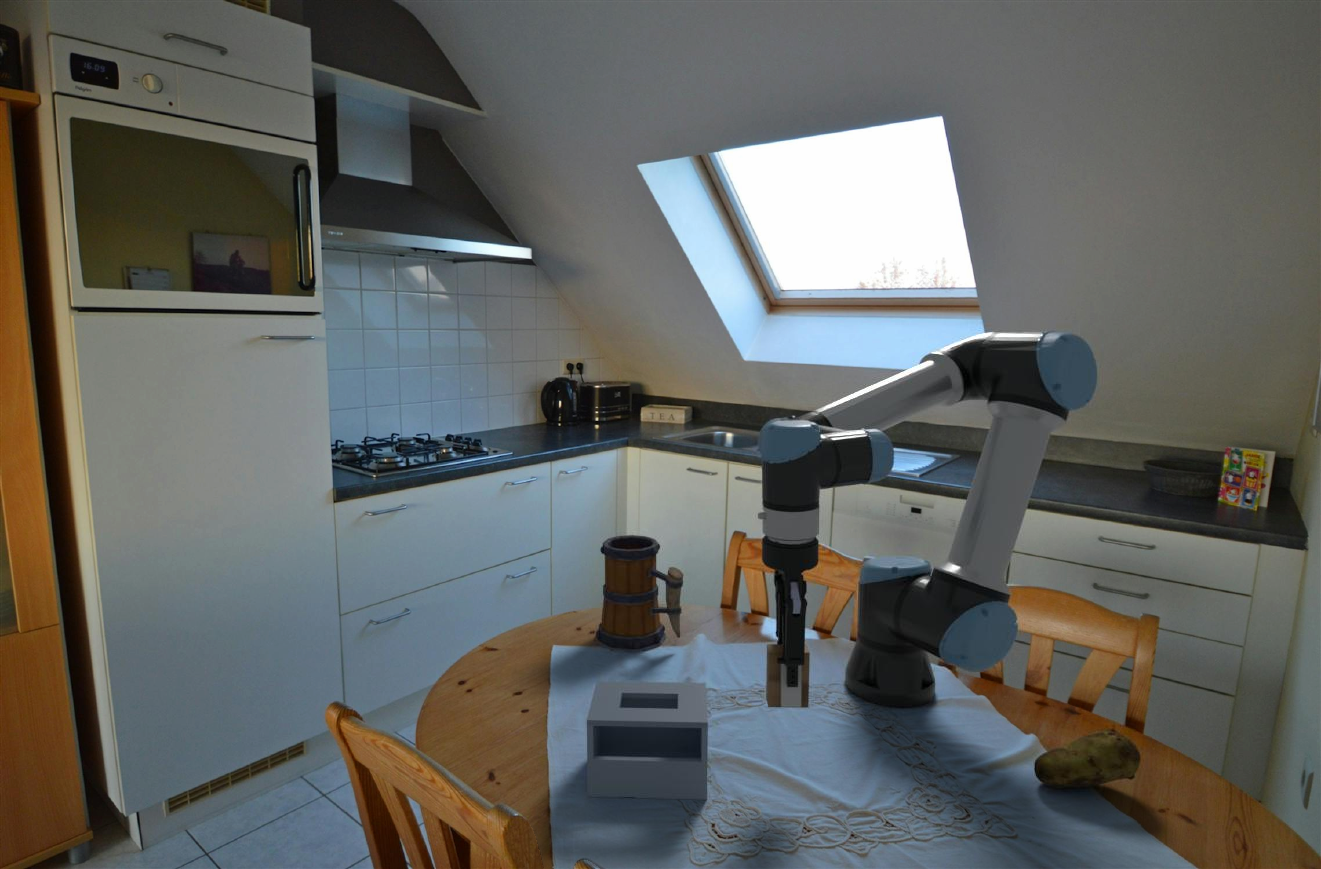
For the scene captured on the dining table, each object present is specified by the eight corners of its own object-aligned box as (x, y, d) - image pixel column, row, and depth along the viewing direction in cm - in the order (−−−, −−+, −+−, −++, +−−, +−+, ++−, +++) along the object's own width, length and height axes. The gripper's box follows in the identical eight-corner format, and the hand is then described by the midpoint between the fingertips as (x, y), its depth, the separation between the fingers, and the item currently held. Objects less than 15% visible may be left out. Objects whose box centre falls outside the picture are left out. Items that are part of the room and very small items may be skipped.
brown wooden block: (805, 697, 104) (806, 644, 103) (808, 707, 101) (809, 652, 100) (766, 697, 104) (766, 643, 103) (768, 707, 102) (769, 652, 100)
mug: (699, 638, 150) (700, 542, 148) (662, 664, 138) (662, 561, 135) (622, 618, 160) (621, 529, 158) (580, 641, 148) (579, 545, 146)
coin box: (704, 752, 109) (705, 682, 108) (706, 799, 98) (707, 722, 97) (597, 750, 110) (596, 680, 108) (587, 796, 99) (586, 719, 97)
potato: (1028, 760, 108) (1032, 708, 107) (1130, 779, 103) (1135, 726, 102) (1034, 793, 100) (1038, 738, 99) (1145, 815, 95) (1151, 758, 94)
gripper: (756, 520, 107) (756, 672, 111) (768, 554, 92) (768, 730, 95) (808, 520, 107) (807, 672, 110) (829, 553, 91) (827, 730, 95)
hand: (789, 698), depth 103 cm, fingers closed on brown wooden block, 3 cm apart
